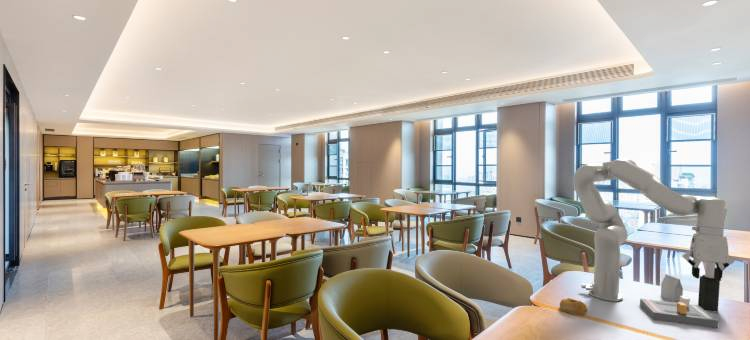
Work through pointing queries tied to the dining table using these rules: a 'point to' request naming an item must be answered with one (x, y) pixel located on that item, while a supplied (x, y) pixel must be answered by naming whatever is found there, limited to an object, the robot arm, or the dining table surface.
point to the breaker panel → (670, 313)
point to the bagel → (573, 306)
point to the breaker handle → (681, 308)
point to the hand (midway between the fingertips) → (706, 278)
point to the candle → (709, 289)
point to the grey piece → (671, 288)
